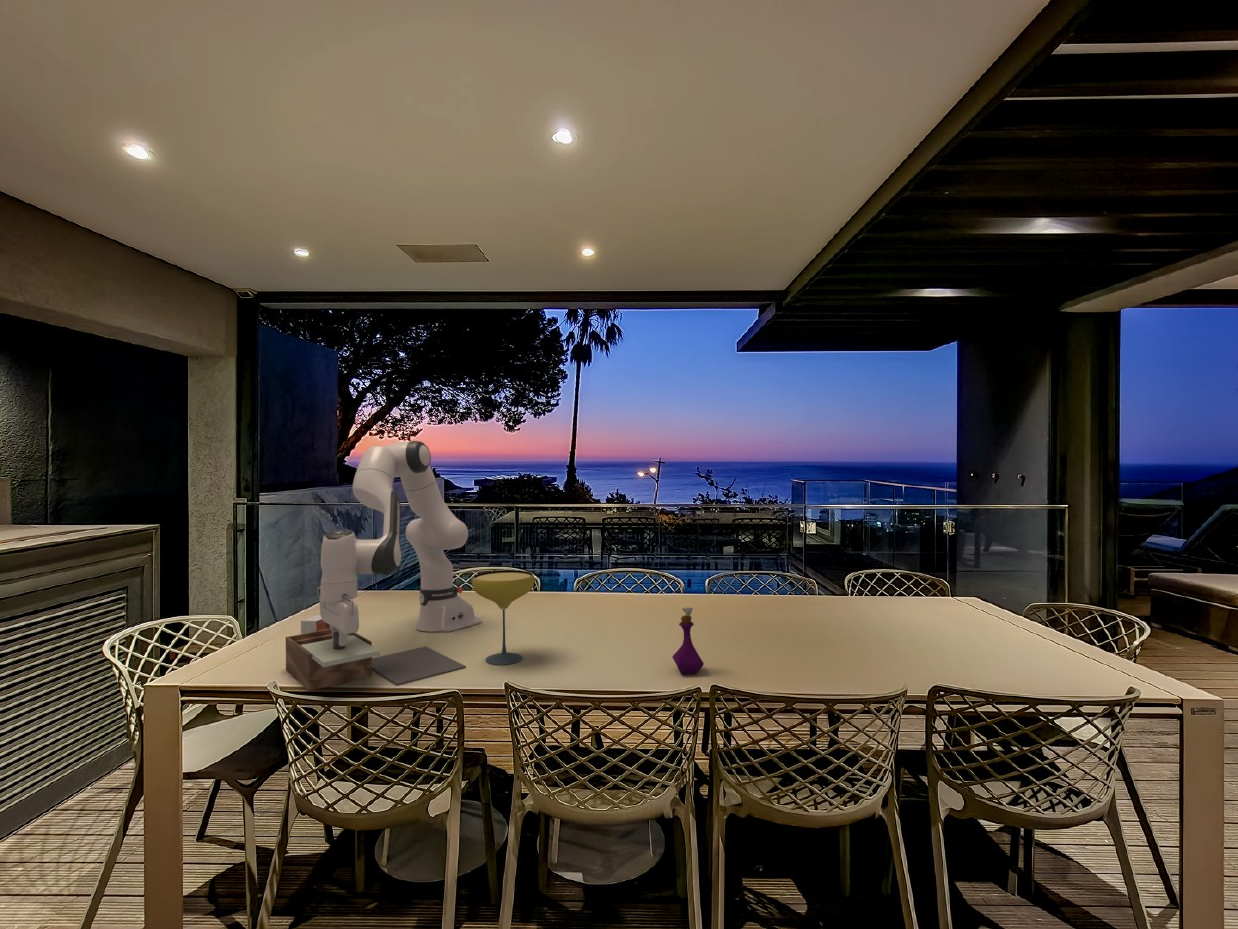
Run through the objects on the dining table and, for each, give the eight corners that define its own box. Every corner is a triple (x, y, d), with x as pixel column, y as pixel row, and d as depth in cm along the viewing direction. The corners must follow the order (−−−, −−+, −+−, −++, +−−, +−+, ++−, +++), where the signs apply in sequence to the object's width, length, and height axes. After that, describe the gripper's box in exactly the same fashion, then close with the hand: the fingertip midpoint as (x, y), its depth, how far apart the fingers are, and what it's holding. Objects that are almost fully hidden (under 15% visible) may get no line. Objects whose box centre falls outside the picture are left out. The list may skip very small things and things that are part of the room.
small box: (316, 655, 184) (316, 621, 184) (300, 654, 185) (300, 620, 185) (333, 647, 192) (333, 614, 192) (318, 646, 193) (318, 614, 193)
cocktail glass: (485, 674, 166) (484, 583, 166) (464, 656, 181) (464, 573, 181) (544, 662, 176) (544, 576, 176) (520, 646, 191) (520, 568, 191)
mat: (425, 647, 190) (425, 646, 190) (465, 667, 171) (465, 666, 171) (361, 662, 177) (361, 660, 177) (396, 685, 158) (396, 683, 158)
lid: (353, 639, 172) (353, 621, 172) (379, 655, 157) (379, 635, 157) (300, 649, 163) (300, 630, 163) (323, 667, 148) (323, 646, 148)
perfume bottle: (672, 668, 170) (671, 604, 170) (698, 667, 170) (697, 603, 170) (676, 677, 162) (676, 610, 162) (704, 676, 163) (703, 609, 163)
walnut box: (344, 657, 181) (344, 626, 181) (371, 676, 165) (371, 641, 165) (285, 670, 171) (285, 637, 171) (308, 691, 154) (308, 654, 154)
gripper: (365, 596, 155) (365, 649, 154) (339, 584, 170) (339, 633, 170) (339, 599, 150) (339, 655, 150) (315, 588, 165) (315, 638, 165)
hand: (339, 643), depth 160 cm, fingers closed on lid, 3 cm apart
